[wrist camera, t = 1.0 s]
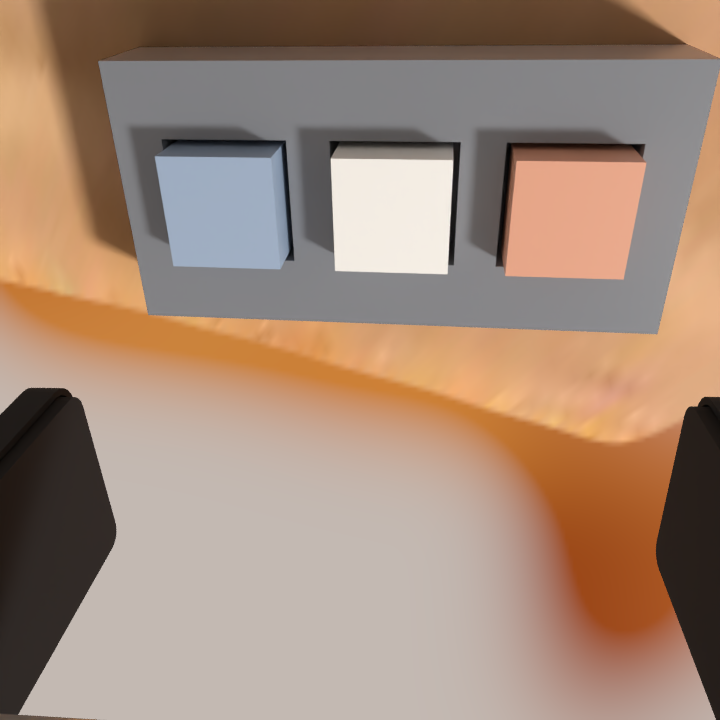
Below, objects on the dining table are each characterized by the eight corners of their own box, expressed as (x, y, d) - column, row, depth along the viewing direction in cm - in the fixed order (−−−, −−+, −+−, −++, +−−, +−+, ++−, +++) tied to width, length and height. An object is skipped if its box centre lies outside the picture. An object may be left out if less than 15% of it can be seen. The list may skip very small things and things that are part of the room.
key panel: (139, 47, 33) (98, 60, 29) (687, 44, 30) (721, 59, 26) (178, 278, 39) (148, 314, 35) (635, 292, 36) (657, 334, 33)
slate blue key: (178, 139, 32) (154, 156, 29) (285, 140, 31) (270, 157, 29) (193, 242, 34) (173, 266, 32) (293, 244, 34) (280, 269, 31)
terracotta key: (510, 142, 30) (516, 160, 27) (629, 143, 30) (646, 162, 27) (500, 249, 33) (505, 276, 30) (609, 252, 32) (623, 279, 30)
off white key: (340, 140, 31) (330, 158, 28) (453, 141, 30) (453, 160, 28) (343, 245, 33) (334, 271, 31) (447, 248, 33) (447, 274, 30)
